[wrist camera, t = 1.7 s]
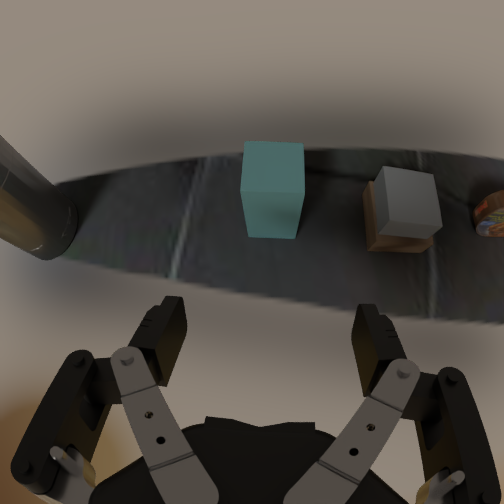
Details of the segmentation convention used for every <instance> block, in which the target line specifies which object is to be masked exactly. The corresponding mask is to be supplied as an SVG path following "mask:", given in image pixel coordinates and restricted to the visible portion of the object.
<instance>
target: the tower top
mask: <svg viewBox="0 0 504 504" xmlns="http://www.w3.org/2000/svg"><path fill="white" fill-rule="evenodd" d="M373 186H374V195H375V206H376V218H377V232H378V234H380V235H391V236H401V237H412V238H421V239H428V238H429V237H430V236H432V235H433V234H434V233H435V232H437V231H438V230H439V229H440V228H441V227H443V226H442V219H441V213H440V207H439V202H438V196H437V191H436V186H435V182H434V177H433V174H428V173H423V172H418V171H412V170H406V169H400V168H394V167H387V166H383V167H382V169H381V170H380V172H379V174H378V176H377V178H376V179H375V181H374V183H373Z"/></svg>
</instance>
